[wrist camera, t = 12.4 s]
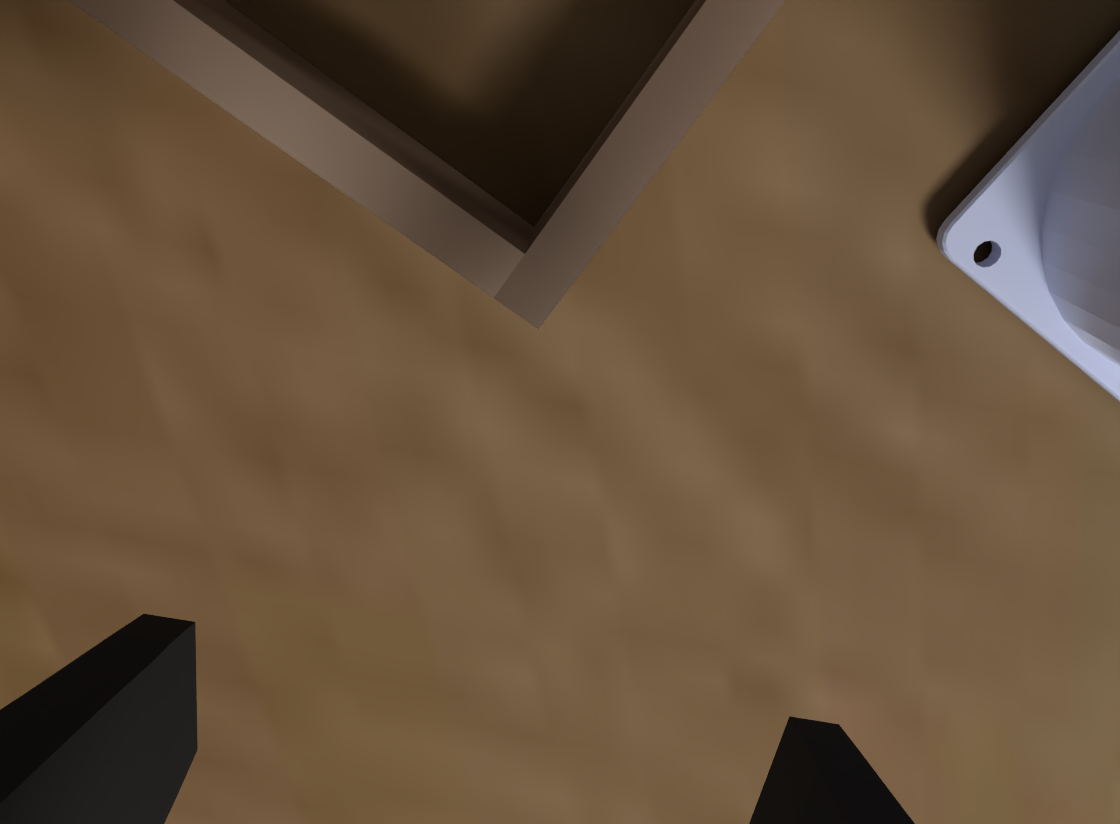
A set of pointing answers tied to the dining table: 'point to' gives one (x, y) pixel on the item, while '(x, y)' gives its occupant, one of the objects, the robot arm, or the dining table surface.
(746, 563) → the dining table surface
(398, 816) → the dining table surface
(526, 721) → the dining table surface
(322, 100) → the brown u-shaped bracket
